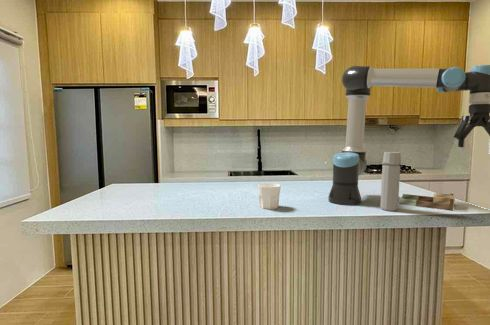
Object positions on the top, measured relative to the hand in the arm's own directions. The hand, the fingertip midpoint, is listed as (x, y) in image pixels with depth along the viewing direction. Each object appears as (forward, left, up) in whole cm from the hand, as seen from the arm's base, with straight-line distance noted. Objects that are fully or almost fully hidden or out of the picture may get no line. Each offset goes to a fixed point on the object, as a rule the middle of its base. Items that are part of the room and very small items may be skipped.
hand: (477, 154), depth 129 cm
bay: (-18, +2, -24) cm, 30 cm away
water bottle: (-31, -18, -24) cm, 43 cm away
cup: (-76, -45, -25) cm, 91 cm away
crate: (-11, +2, -25) cm, 27 cm away
